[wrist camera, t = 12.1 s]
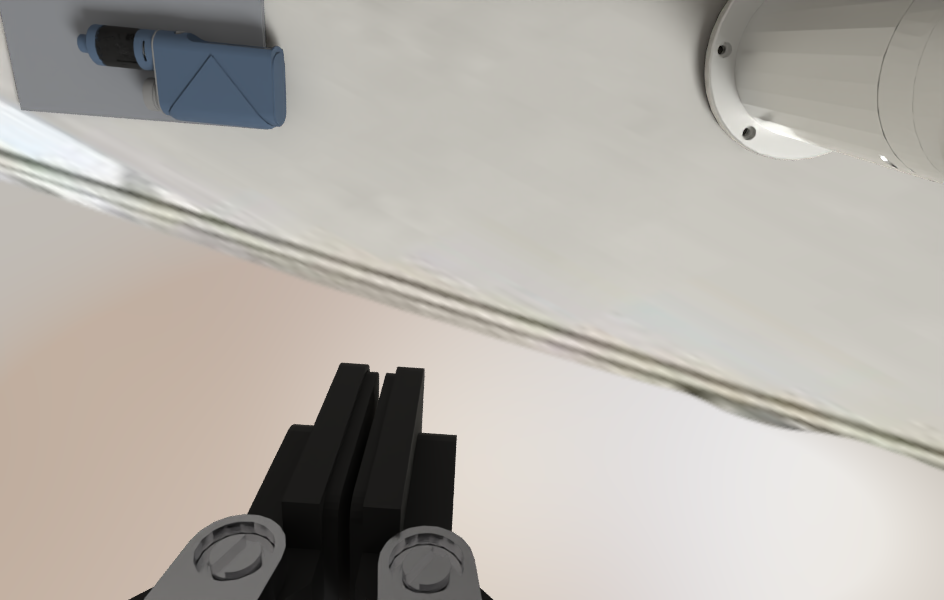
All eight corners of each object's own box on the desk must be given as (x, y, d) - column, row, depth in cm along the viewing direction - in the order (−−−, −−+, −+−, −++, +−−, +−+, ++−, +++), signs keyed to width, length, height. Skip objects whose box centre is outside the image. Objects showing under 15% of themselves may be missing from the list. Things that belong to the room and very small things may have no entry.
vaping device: (271, 41, 35) (64, 20, 35) (275, 133, 37) (80, 114, 37) (285, 40, 37) (91, 20, 37) (288, 127, 39) (105, 109, 39)
